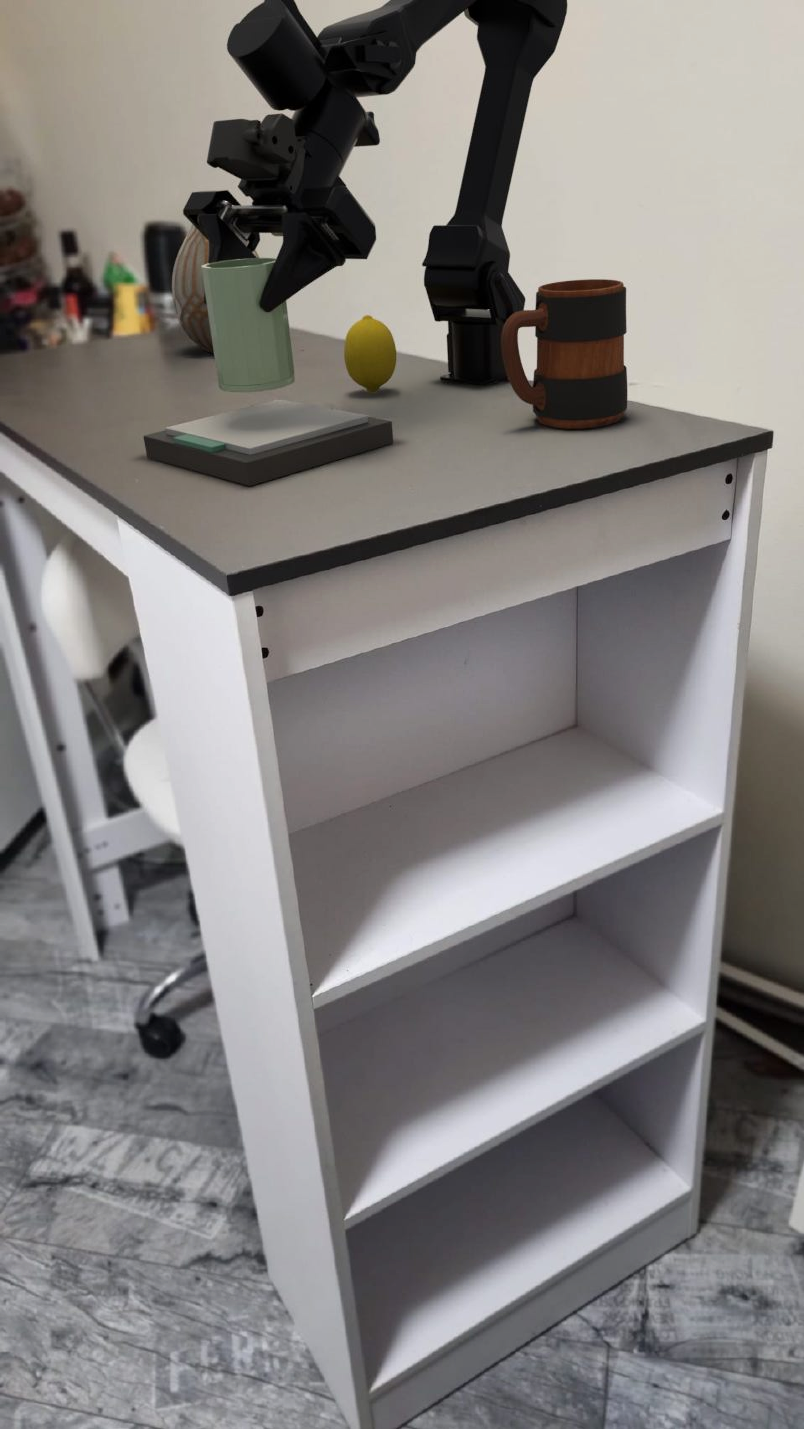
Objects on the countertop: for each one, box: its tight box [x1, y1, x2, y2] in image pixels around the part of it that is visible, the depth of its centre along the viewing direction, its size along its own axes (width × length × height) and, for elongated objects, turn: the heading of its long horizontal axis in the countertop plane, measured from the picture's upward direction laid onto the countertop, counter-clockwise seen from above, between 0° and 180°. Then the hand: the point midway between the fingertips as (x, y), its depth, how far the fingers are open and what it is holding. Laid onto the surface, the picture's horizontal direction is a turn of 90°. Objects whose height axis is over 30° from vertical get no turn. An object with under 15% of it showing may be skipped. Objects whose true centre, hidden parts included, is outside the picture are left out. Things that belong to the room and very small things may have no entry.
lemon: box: [343, 314, 397, 394], centre depth 116 cm, size 6×6×8 cm
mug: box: [501, 278, 628, 430], centre depth 99 cm, size 9×12×12 cm
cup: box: [201, 256, 296, 393], centre depth 94 cm, size 7×7×10 cm
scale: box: [142, 398, 394, 487], centre depth 99 cm, size 16×16×3 cm
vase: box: [171, 223, 262, 354], centre depth 145 cm, size 13×13×18 cm
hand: (235, 307), depth 93 cm, fingers closed on cup, 7 cm apart
